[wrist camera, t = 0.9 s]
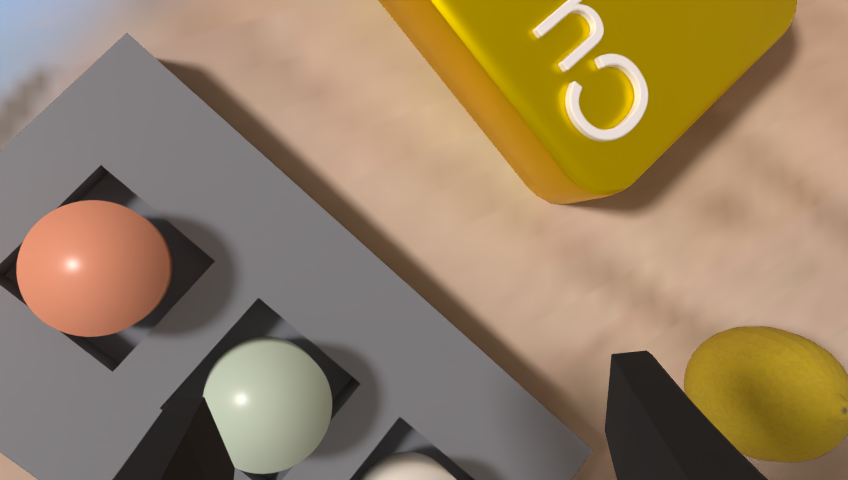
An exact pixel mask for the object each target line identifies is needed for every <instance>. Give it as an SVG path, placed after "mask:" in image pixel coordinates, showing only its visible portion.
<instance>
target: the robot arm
mask: <svg viewBox="0 0 848 480" xmlns="http://www.w3.org/2000/svg"><path fill="white" fill-rule="evenodd" d="M605 433H606V437H607V441H608V445H609V449H610V453H611V457H612V461H613V465H614V469H615V472H616V476H617V480H768V479H767V478H766V477H764V476H763V475H762V474H761V473H760V472H759V471H758V470H757V469H756V468H755V467H754V466H753V465H752V464H751V463H750V462H749V461H748V460H747V459H746V458H745V457H744V456H743V455H742V454H741V453H740V452H739V451H738V450H737V449H736V448H735V447H734V446H733V445H732V444H731V443H730V442H729V440H728V439H727V438H726V437H725V436H724V435H723V434H722V433H721V432H720V431H719V430H718V429H717V428H716V427H715V426H714V425H713V424H712V423H711V422H710V421H709V420H708V418H707V417H706V416H705V415H704V414H703V413H702V412H701V411H700V410H699V409H698V408H697V406H696V405H695V404H694V403H693V402H692V401H691V400H690V399H689V398H688V396H687V395H686V394H685V393H684V392H683V391H682V390H681V388H680V387H679V386H678V385H677V384H676V383H675V381H674V380H673V379H672V378H671V377H670V376H669V374H668V373H667V372H666V371H665V370H664V369H663V367H662V366H661V365H660V364H659V363H658V361H657V360H656V359H655V358H654V357H653V355H652V354H650V353H649V352H648V351H638V352H628V353H619V354H612V356H611V367H610V378H609V389H608V400H607V411H606V423H605ZM234 472H235V468H234V465H233V463H232V461H231V458H230V456H229V454H228V451H227V449H226V447H225V444H224V442H223V439H222V437H221V435H220V432H219V430H218V428H217V425H216V423H215V421H214V418H213V416H212V414H211V411H210V409H209V407H208V404H207V402H206V400H205V397H198V398H189V399H179V400H170V402H169V403H168V404H167V405H166V406H165V408H164V409H163V410H162V412H161V413H160V415H159V416H158V417H157V419H156V420H155V421H154V423H153V424H152V426H151V427H150V428H149V430H148V431H147V433H146V434H145V435H144V437H143V438H142V440H141V441H140V442H139V444H138V445H137V447H136V448H135V449H134V451H133V452H132V453H131V455H130V456H129V458H128V459H127V460H126V462H125V463H124V464H123V466H122V467H121V469H120V470H119V471H118V473H117V474H116V475H115V477H114V478H113V479H112V480H234Z"/></svg>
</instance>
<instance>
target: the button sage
mask: <svg viewBox="0 0 848 480" xmlns="http://www.w3.org/2000/svg"><path fill="white" fill-rule="evenodd" d="M203 397H205V400H206V402H207V404H208V407H209V409H210V411H211V414H212V416H213V418H214V421H215V423H216V425H217V428H218V430H219V432H220V435H221V437H222V439H223V442H224V444H225V447H226V449H227V451H228V454H229V456H230V458H231V461H232V463H233V465H234V468H237V469H239V470H242V471H245V472H249V473H256V474H267V473H275V472H279V471H283V470H285V469H288V468H290V467H292V466H294V465H296V464H298V463H300V462H301V461H303V460H304V459H305V458H306V457H308V456H309V455H310V454H311V453H312V452H313V451H314V450H315V449H316V448H317V446H318V445H319V443H320V442H321V441H322V439H323V437H324V435H325V433H326V431H327V429H328V426H329V423H330V419H331V414H332V395H331V390H330V386H329V383H328V381H327V378H326V376H325V375H324V373H323V371H322V370H321V368H320V367H319V366H318V365H317V363H316V362H315V361H314V360H313V359H312V358H311V357H310V356H309V355H308V354H307V353H306V352H305V351H304V350H303V349H302V348H300V347H299V346H298V345H296V344H294V343H292V342H291V341H288V340H285V339H283V338H278V337H271V336H260V337H254V338H250V339H247V340H244V341H242V342H239V343H237V344H236V345H234V346H232V347H231V348H229V349H228V350H227V351H226V352H224V353H223V354H222V355H221V356H220V357H219V358H218V360H217V361H216V362H215V364H214V365H213V367H212V369H211V370H210V372H209V375H208V377H207V380H206V383H205V387H204V393H203Z"/></svg>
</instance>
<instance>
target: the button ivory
mask: <svg viewBox="0 0 848 480" xmlns="http://www.w3.org/2000/svg"><path fill="white" fill-rule="evenodd" d="M360 480H457V479H455V478H454V477H453V476H452V475H451V474H450V473H449V472H448V471H447V470H446V469H445V468H444V467H442V466H441V465H440V464H439V463H438V462H437V461H435V460H434V459H433V458H431V457H429V456H427V455H424V454H421V453H417V452H399V453H394V454H391V455H389V456H386V457H384V458H382V459H380V460H379V461H377V462H376V463H374V464H373V465H372V466H371V467H370V468H369V469H368V470H367V471H366V472H365V473H364V474H363V476H362V477H361V479H360Z"/></svg>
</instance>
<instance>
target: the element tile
mask: <svg viewBox="0 0 848 480" xmlns="http://www.w3.org/2000/svg"><path fill="white" fill-rule="evenodd" d="M379 2H380V3H381V4H382V5H383V7H384V8H385V9H386V10H387V12H388V13H389V14H390V15H391V17H392V18H393V19H394V21H395V22H396V23H397V24H398V26H399V27H400V28H401V29H402V31H403V32H404V33H405V34H406V36H407V37H408V38H409V39H410V41H411V42H412V43H413V44H414V46H415V47H416V48H417V49H418V51H419V52H420V53H421V54H422V56H423V57H424V58H425V59H426V61H427V62H428V63H429V64H430V66H431V67H432V68H433V69H434V71H435V72H436V73H437V74H438V76H439V77H440V78H441V79H442V81H443V82H444V83H445V84H446V86H447V87H448V88H449V89H450V91H451V92H452V93H453V94H454V96H455V97H456V98H457V99H458V101H459V102H460V103H461V104H462V106H463V107H464V108H465V109H466V111H467V112H468V113H469V114H470V116H471V117H472V118H473V119H474V121H475V122H476V123H477V124H478V126H479V127H480V128H481V129H482V131H483V132H484V133H485V135H486V136H487V137H488V138H489V140H490V141H491V142H492V143H493V145H494V146H495V147H496V148H497V150H498V151H499V152H500V153H501V155H502V156H503V157H504V158H505V160H506V161H507V162H508V163H509V165H510V166H511V167H512V168H513V170H514V171H515V172H516V173H517V175H518V176H519V177H520V178H521V180H522V181H523V182H524V183H525V185H526V186H527V187H528V188H529V189H530V190H531V191H532V192H533V193H535V194H536V195H537V196H538V197H540V198H542V199H544V200H546V201H547V202H549V203H554V204H570V203H575V202H581V201H586V200H592V199H597V198H603V197H607V196H610V195H613V194H616V193H619V192H622V191H623V190H625V189H627V188H628V187H630V186H631V185H632V184H633V183H634V182H635V181H636V180H637V179H638V178H639V177H640V176H641V175H642V174H643V173H644V172H645V171H646V170H647V169H648V168H649V167H650V166H651V165H652V164H653V163H654V162H655V161H656V160H657V159H658V158H659V157H660V156H661V155H662V154H663V153H664V152H665V151H666V150H667V149H668V148H669V147H670V146H671V145H672V144H673V143H674V142H675V141H676V140H677V139H678V138H679V137H680V136H681V135H682V134H684V133H685V132H686V131H687V130H688V129H689V128H690V127H691V126H692V125H693V124H694V123H695V122H696V121H697V120H698V119H699V118H700V117H701V116H702V115H703V114H704V113H705V112H706V111H707V110H708V109H709V108H710V107H711V106H712V105H713V104H714V103H715V102H716V101H717V100H718V99H719V98H720V97H721V96H722V95H723V94H724V93H725V92H726V91H727V90H728V89H729V88H730V87H731V86H732V85H733V84H734V83H735V82H736V81H737V80H738V79H739V78H740V77H741V76H742V75H743V74H744V73H745V72H746V71H747V70H748V69H749V68H750V67H751V66H752V65H753V64H754V63H755V62H756V61H757V60H758V59H759V58H760V57H761V56H762V55H763V54H764V53H765V52H766V51H767V50H768V49H769V48H770V47H771V46H772V45H773V44H774V43H775V42H776V41H777V40H778V39H779V38H780V37H781V36H782V35H783V34H784V33H785V32H786V31H787V29H788V28H789V26H790V25H791V23H792V20H793V18H794V15H795V12H796V5H797V0H379Z"/></svg>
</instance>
